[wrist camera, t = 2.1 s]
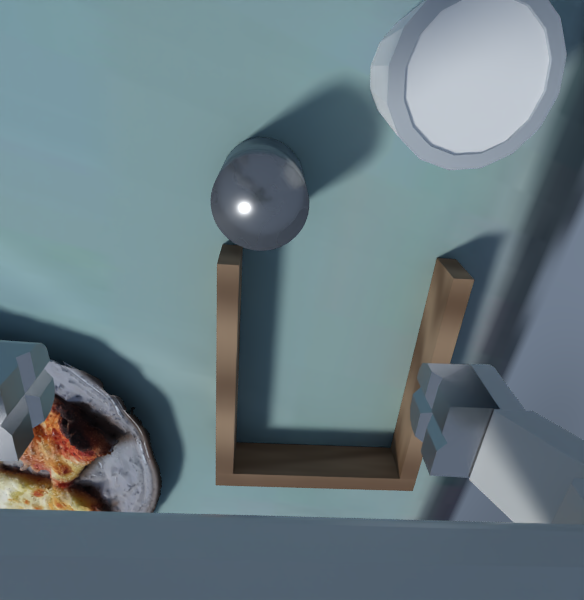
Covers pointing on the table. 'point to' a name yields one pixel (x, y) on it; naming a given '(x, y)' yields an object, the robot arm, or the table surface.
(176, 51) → the table surface
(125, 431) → the food plate
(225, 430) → the wooden u-shaped frame
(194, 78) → the table surface
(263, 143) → the grey rounded piece
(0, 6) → the table surface
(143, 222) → the table surface
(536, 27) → the shot glass
